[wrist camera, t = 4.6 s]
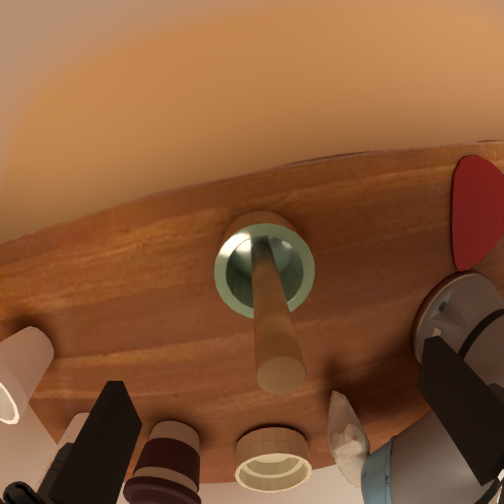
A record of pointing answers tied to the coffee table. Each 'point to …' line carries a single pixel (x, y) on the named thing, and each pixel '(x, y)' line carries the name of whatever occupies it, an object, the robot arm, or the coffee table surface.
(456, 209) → the red triangular disc
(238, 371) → the coffee table surface
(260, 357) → the stirring stick
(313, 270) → the holder
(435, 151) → the coffee table surface
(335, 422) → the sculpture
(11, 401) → the foam cup
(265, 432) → the bowl
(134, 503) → the coffee cup
